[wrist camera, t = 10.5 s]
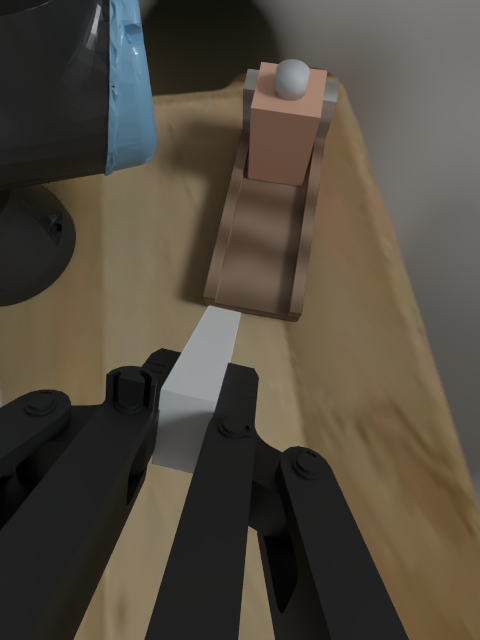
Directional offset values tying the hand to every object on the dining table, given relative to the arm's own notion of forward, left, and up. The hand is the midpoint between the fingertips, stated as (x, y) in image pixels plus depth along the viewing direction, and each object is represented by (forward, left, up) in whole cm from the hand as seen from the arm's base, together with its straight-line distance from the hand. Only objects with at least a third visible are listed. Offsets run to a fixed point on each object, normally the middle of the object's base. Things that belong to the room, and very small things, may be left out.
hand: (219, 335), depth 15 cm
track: (-9, +18, -18) cm, 27 cm away
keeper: (-13, +23, -17) cm, 32 cm away
